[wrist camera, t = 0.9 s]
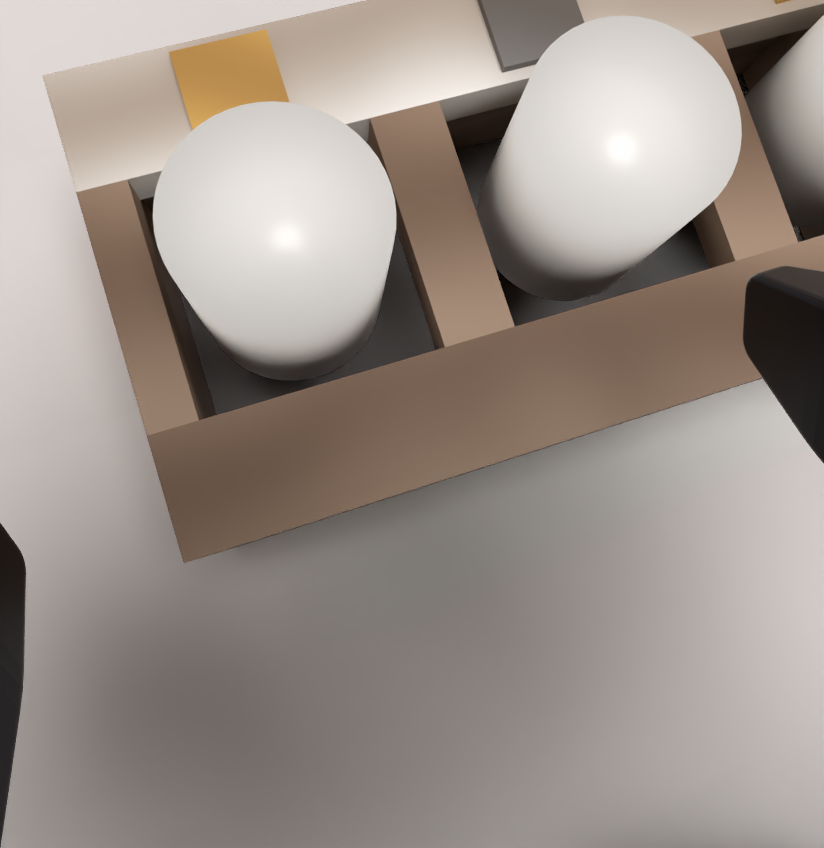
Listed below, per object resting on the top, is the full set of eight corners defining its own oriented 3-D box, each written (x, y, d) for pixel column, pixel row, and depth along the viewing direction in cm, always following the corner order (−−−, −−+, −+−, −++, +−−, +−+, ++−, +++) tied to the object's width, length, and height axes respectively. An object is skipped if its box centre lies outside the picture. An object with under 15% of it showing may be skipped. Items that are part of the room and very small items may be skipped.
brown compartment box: (862, 345, 24) (1086, 273, 17) (233, 548, 21) (181, 563, 14) (752, 53, 25) (920, -134, 18) (133, 213, 22) (38, 69, 15)
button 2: (403, 351, 17) (427, 294, 13) (229, 402, 17) (192, 362, 12) (350, 187, 18) (355, 77, 13) (178, 233, 17) (123, 134, 13)
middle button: (665, 274, 18) (772, 196, 14) (507, 321, 18) (566, 255, 13) (610, 119, 19) (697, -6, 14) (453, 160, 18) (493, 44, 14)
